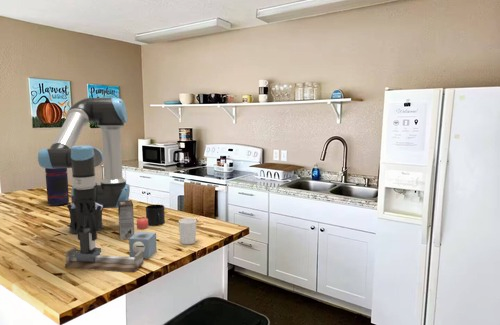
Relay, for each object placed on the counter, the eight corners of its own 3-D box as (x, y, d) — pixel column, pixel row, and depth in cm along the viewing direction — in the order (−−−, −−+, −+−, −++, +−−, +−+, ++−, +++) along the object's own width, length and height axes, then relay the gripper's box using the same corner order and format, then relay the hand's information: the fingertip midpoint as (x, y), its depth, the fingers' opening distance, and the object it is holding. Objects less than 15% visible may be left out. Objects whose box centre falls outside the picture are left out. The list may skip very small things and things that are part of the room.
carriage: (75, 262, 128) (73, 232, 126) (84, 255, 134) (82, 227, 132) (92, 263, 127) (91, 233, 125) (101, 256, 133) (100, 228, 131)
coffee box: (119, 233, 165) (117, 200, 163) (133, 231, 168) (131, 199, 165) (119, 239, 157) (118, 205, 155) (134, 237, 159) (133, 204, 157)
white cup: (180, 239, 158) (179, 218, 157) (197, 238, 159) (197, 217, 158) (178, 245, 151) (177, 223, 149) (196, 245, 151) (195, 223, 150)
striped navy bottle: (73, 203, 219) (70, 157, 215) (54, 207, 209) (50, 159, 205) (61, 200, 227) (58, 155, 223) (42, 204, 217) (38, 157, 213)
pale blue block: (129, 258, 136) (128, 239, 135) (138, 250, 145) (137, 231, 144) (148, 259, 136) (147, 240, 135) (156, 251, 144) (156, 232, 143)
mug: (150, 228, 173) (149, 211, 171) (144, 222, 183) (143, 205, 182) (168, 225, 177) (168, 208, 176) (161, 219, 188) (161, 203, 186)
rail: (63, 267, 128) (62, 253, 127) (76, 259, 135) (76, 245, 135) (135, 272, 124) (135, 257, 124) (144, 263, 132) (144, 249, 132)
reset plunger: (135, 229, 137) (134, 221, 137) (139, 226, 142) (139, 217, 141) (145, 230, 137) (145, 221, 136) (149, 226, 141) (149, 218, 141)
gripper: (57, 188, 124) (61, 250, 127) (99, 190, 122) (102, 253, 125) (70, 184, 131) (74, 243, 134) (110, 186, 129) (113, 245, 133)
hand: (87, 247), depth 130 cm, fingers closed on carriage, 3 cm apart
